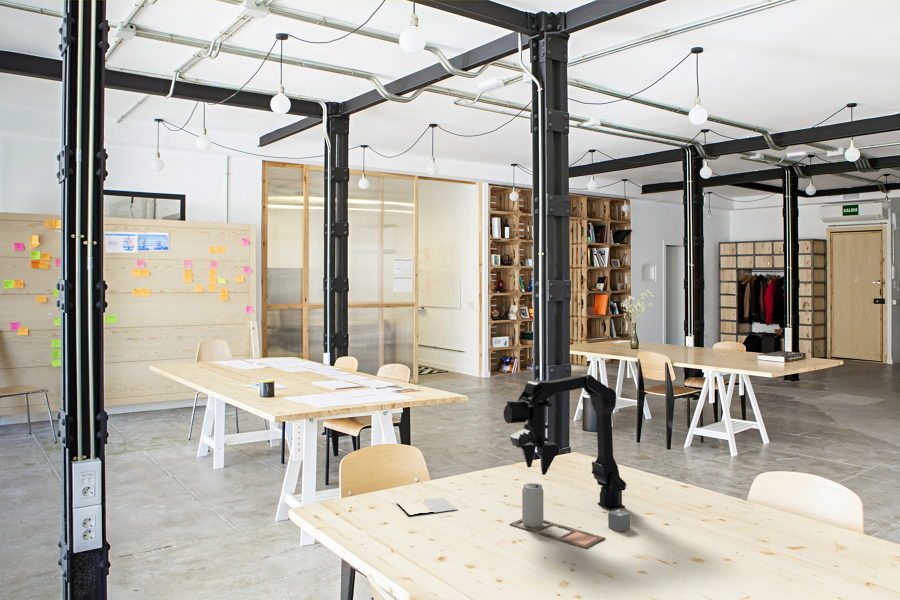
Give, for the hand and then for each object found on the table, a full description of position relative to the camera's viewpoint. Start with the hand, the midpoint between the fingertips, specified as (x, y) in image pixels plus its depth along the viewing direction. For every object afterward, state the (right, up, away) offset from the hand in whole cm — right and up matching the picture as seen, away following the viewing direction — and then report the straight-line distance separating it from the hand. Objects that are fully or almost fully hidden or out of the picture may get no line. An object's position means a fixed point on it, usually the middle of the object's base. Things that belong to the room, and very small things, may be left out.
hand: (536, 470), depth 203 cm
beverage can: (-2, -15, -6) cm, 16 cm away
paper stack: (-37, -15, +4) cm, 40 cm away
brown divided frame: (+4, -15, -12) cm, 20 cm away
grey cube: (+24, -15, -9) cm, 29 cm away
